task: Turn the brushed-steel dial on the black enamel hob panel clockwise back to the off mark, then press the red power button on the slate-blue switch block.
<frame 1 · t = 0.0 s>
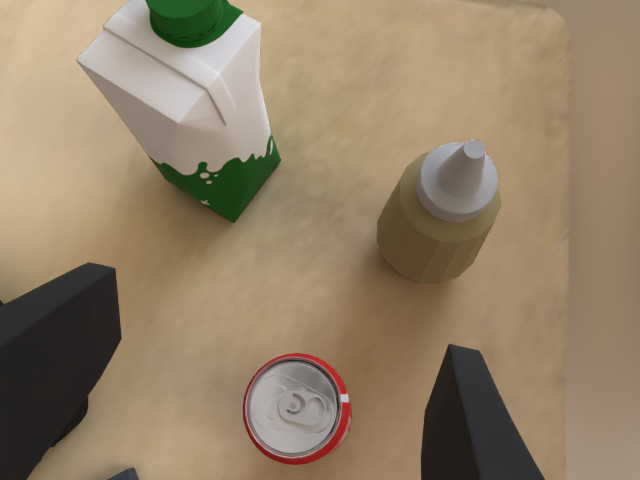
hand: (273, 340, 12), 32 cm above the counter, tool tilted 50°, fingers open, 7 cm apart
milk carton: (226, 173, 48), on the counter
beverage can: (310, 411, 42), on the counter
squeeze bottle: (420, 247, 46), on the counter
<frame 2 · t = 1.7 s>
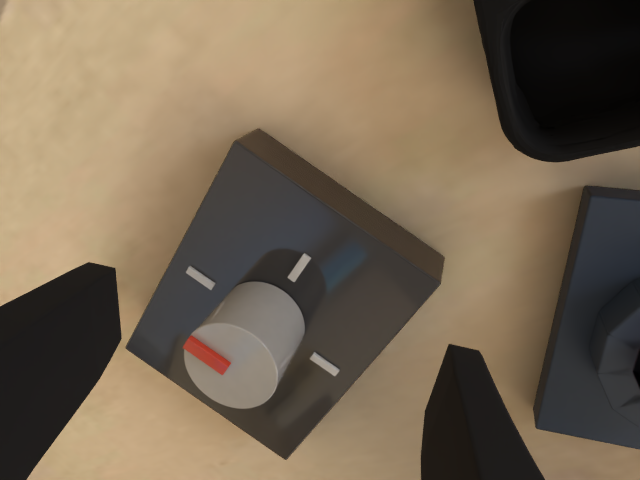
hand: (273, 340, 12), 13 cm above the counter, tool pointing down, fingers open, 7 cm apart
hob knob: (245, 344, 23), point 5 cm above the counter, hinge at 90.0°
hob panel: (282, 293, 27), on the counter
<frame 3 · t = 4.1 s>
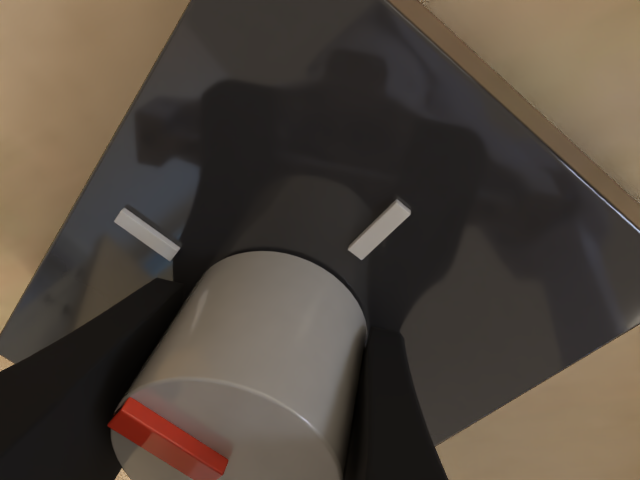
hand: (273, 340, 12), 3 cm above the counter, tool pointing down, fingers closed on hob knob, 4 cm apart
hob knob: (252, 392, 10), point 5 cm above the counter, hinge at 89.8°, touching gripper
hob panel: (302, 261, 14), on the counter
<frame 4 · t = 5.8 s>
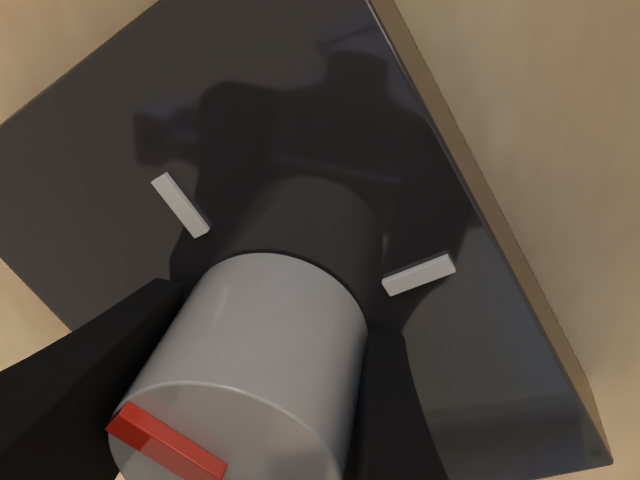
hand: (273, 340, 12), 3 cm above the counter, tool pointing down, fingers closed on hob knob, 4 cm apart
hob knob: (251, 396, 10), point 5 cm above the counter, hinge at 19.7°, touching gripper
hob panel: (302, 262, 14), on the counter
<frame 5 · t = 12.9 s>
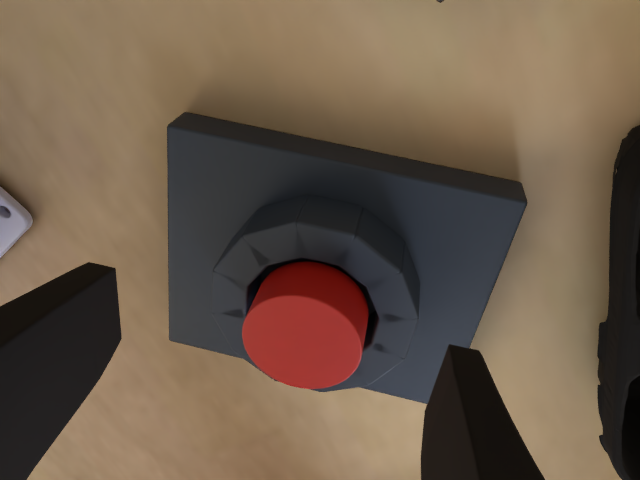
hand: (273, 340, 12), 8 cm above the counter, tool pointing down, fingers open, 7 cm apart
switch block: (327, 260, 20), on the counter
power button: (306, 325, 17), point 4 cm above the counter, slide at 0.1 cm
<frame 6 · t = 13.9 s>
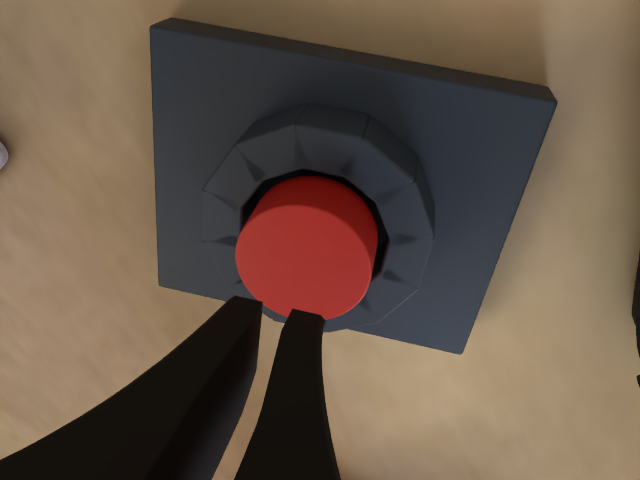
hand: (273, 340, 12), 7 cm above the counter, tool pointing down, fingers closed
switch block: (331, 190, 18), on the counter
power button: (308, 249, 15), point 4 cm above the counter, slide at 0.1 cm
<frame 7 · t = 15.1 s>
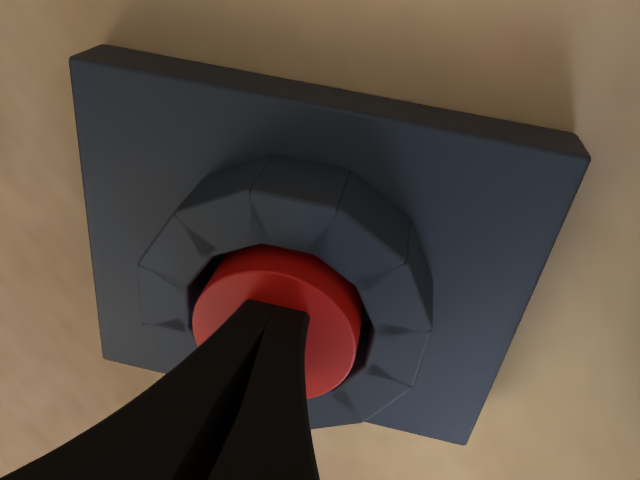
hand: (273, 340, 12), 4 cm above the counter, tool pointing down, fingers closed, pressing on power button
switch block: (306, 250, 15), on the counter
power button: (281, 315, 12), point 3 cm above the counter, slide at -0.8 cm, touching gripper
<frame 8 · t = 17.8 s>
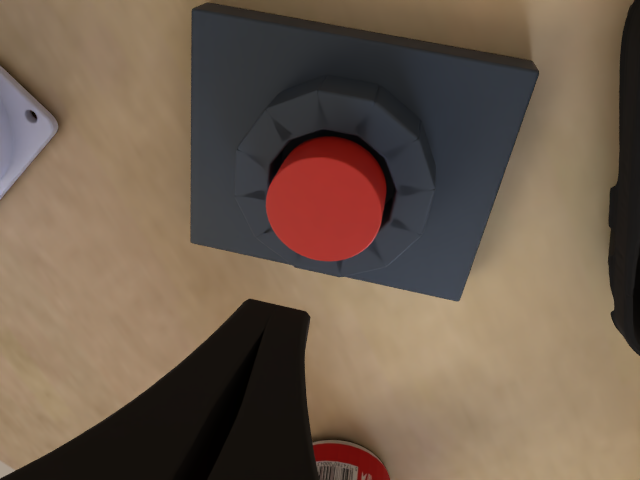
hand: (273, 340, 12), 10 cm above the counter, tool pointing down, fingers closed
switch block: (344, 155, 20), on the counter
power button: (327, 199, 17), point 4 cm above the counter, slide at 0.1 cm
beverage can: (346, 466, 30), on the counter
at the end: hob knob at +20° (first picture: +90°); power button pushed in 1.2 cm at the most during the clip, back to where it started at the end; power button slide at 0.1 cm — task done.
